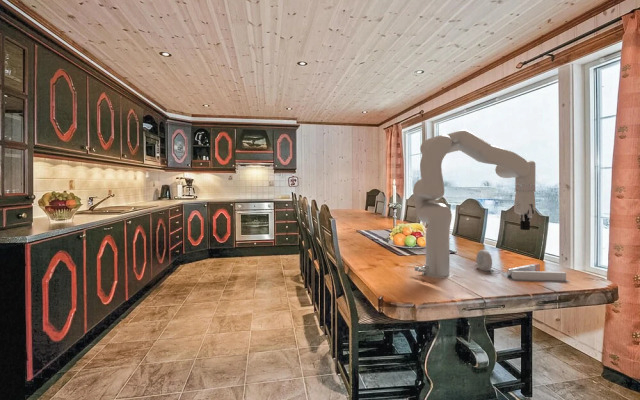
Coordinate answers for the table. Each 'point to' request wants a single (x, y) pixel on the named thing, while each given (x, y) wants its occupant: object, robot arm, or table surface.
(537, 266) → the arm
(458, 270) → the table surface
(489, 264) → the grey rounded slab
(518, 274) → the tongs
